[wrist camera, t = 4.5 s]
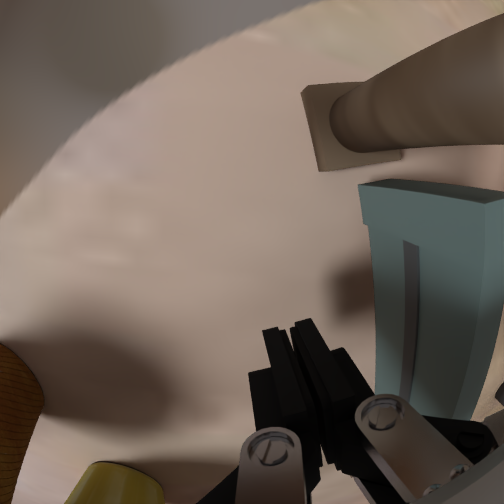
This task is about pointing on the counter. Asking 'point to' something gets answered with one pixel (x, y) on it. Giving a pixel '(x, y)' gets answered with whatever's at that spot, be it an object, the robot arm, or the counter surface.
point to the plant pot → (115, 486)
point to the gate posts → (414, 104)
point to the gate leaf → (435, 290)
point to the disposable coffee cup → (15, 418)
